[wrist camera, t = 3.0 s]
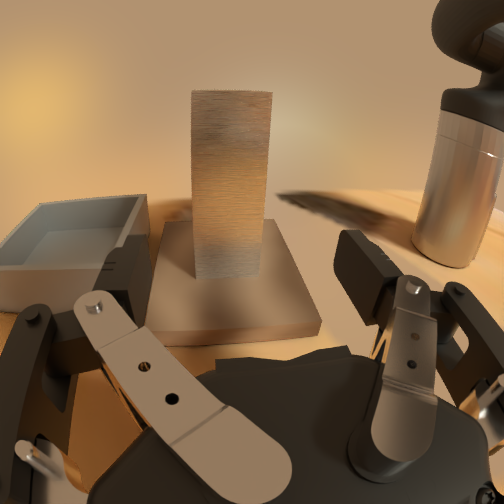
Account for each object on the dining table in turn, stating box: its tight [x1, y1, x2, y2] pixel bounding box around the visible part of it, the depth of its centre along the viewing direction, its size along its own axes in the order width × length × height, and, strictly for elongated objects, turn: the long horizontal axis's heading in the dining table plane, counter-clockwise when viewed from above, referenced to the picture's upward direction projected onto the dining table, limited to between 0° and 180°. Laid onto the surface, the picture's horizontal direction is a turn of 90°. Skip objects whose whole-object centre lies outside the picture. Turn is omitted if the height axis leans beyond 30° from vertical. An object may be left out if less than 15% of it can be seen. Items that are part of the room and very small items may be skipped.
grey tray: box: [0, 194, 150, 314], centre depth 25 cm, size 14×14×4 cm
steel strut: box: [191, 90, 272, 279], centre depth 22 cm, size 5×5×14 cm
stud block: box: [145, 219, 322, 346], centre depth 25 cm, size 12×16×6 cm
